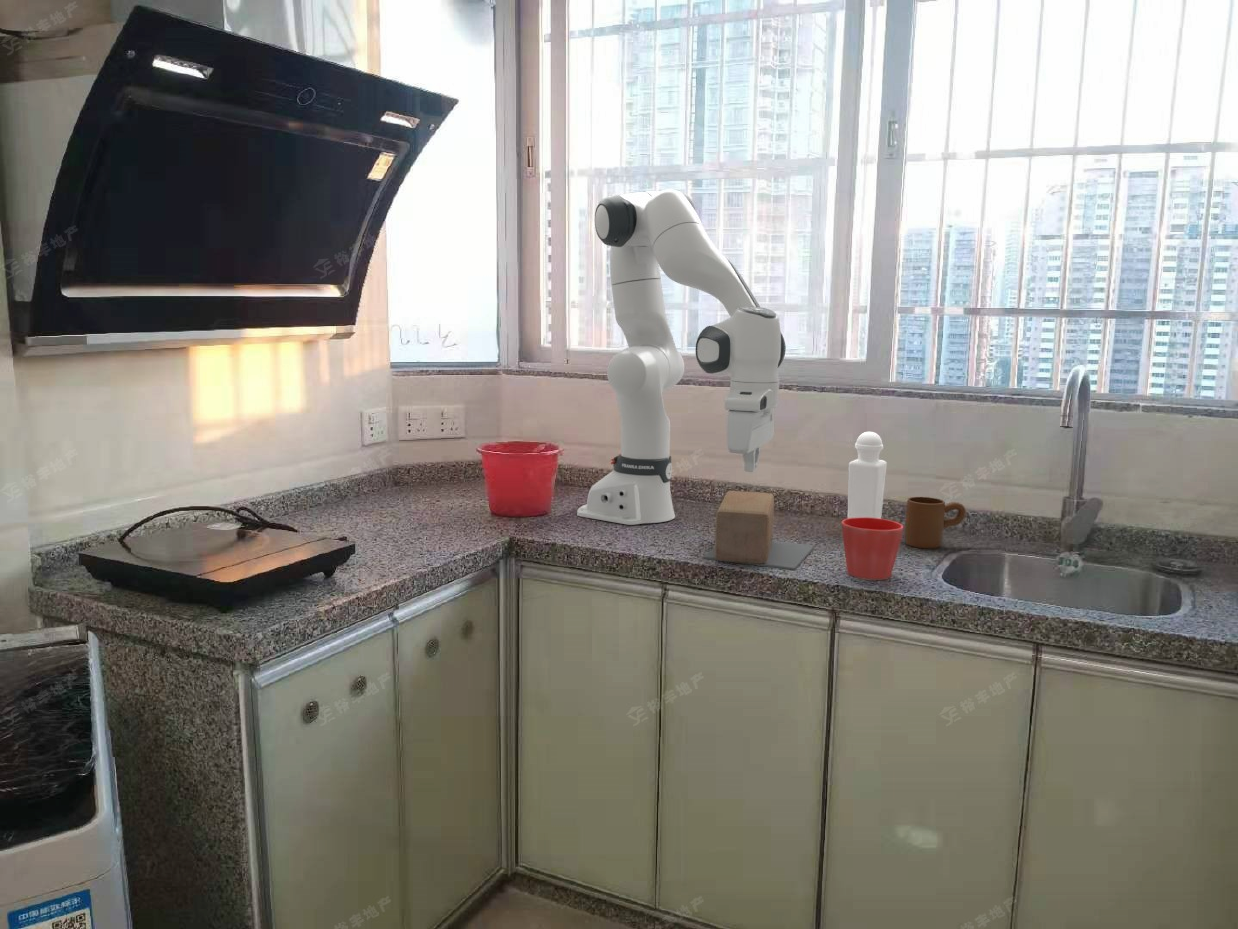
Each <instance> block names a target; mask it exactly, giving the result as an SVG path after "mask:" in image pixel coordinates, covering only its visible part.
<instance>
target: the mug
mask: <svg viewBox="0 0 1238 929" xmlns="http://www.w3.org/2000/svg"><path fill="white" fill-rule="evenodd" d="M905 508H906V509H905V518H904V519H905V520H904V521H905V522H904V535H903V536H904V537H903V538H904V540H903V541H904V543H905V544H906V545H907V546H910V547H913V548H919V549H927V550H928V549H930V550H931V549H937V548H940V547H941V546H942V545H943V544H942V543H943V537H944V530H946V529H947V528H949V527H955V526H958V525H960V524H961V523H962V522H964V520H965V518H966V513H967V512H966V508H965V506H964V505H963V503H961V502H957V501H952V502H948V503H946V501H945V500H943V499H940V498H937V497H929V496H928V497H927V496H913V497H909V498H907V501H906V507H905ZM953 510H954V511H955V510H957V514H956V515H955V516H954V517H948V518H947V517H946V518H945V514H946V513H948V512H949V513H950V512H951V511H953Z"/></svg>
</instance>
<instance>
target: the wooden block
mask: <svg viewBox="0 0 1238 929" xmlns="http://www.w3.org/2000/svg"><path fill="white" fill-rule="evenodd" d="M774 511H775V496H774V494H773V493H770V492H759V491H740V490H728V491H727V492H726V493H725V496H724V497H723V499H722V501H721V503H720V505H719V507H718V509H717V511H716V513H715V528H714V529H715V535H714V547H715V554H714V555H715V558H716V559H718V560H717V561H719V560H720V561H721V562H727V561H734V562H733V563H735V562H747V563H761V564H762V563H765V562H766V561H767V559H768V554H769V550H770V545H771V541H773V536H774V535H773V532H774V514H775V512H774Z"/></svg>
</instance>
